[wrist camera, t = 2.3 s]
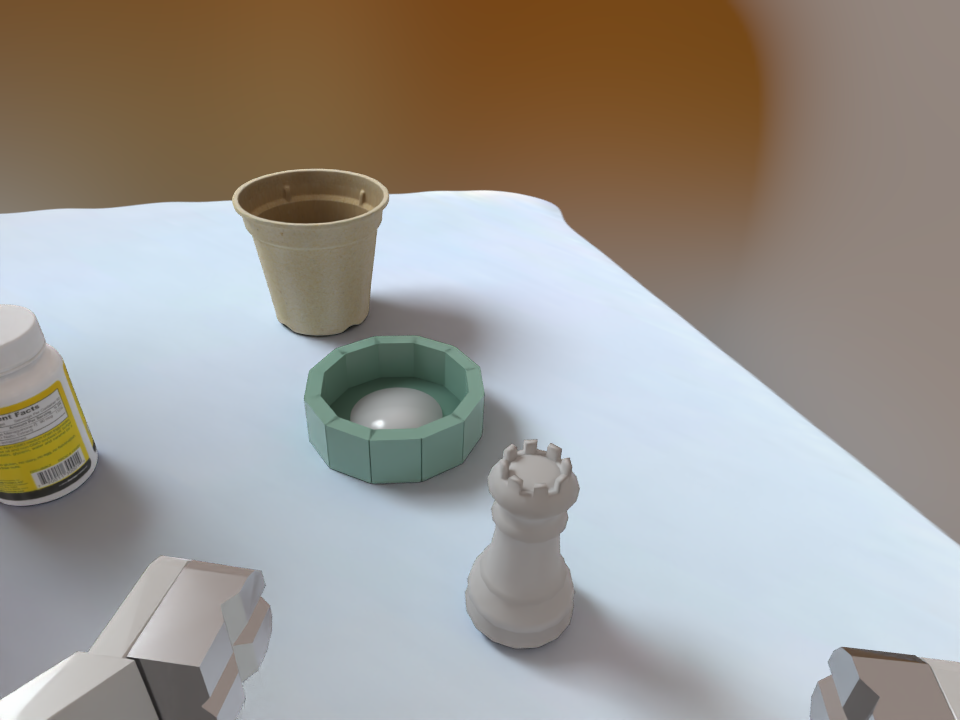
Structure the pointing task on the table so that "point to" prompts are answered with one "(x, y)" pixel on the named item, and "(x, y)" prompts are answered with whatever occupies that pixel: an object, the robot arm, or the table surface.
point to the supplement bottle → (38, 417)
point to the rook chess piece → (525, 550)
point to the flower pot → (315, 243)
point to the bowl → (394, 408)
